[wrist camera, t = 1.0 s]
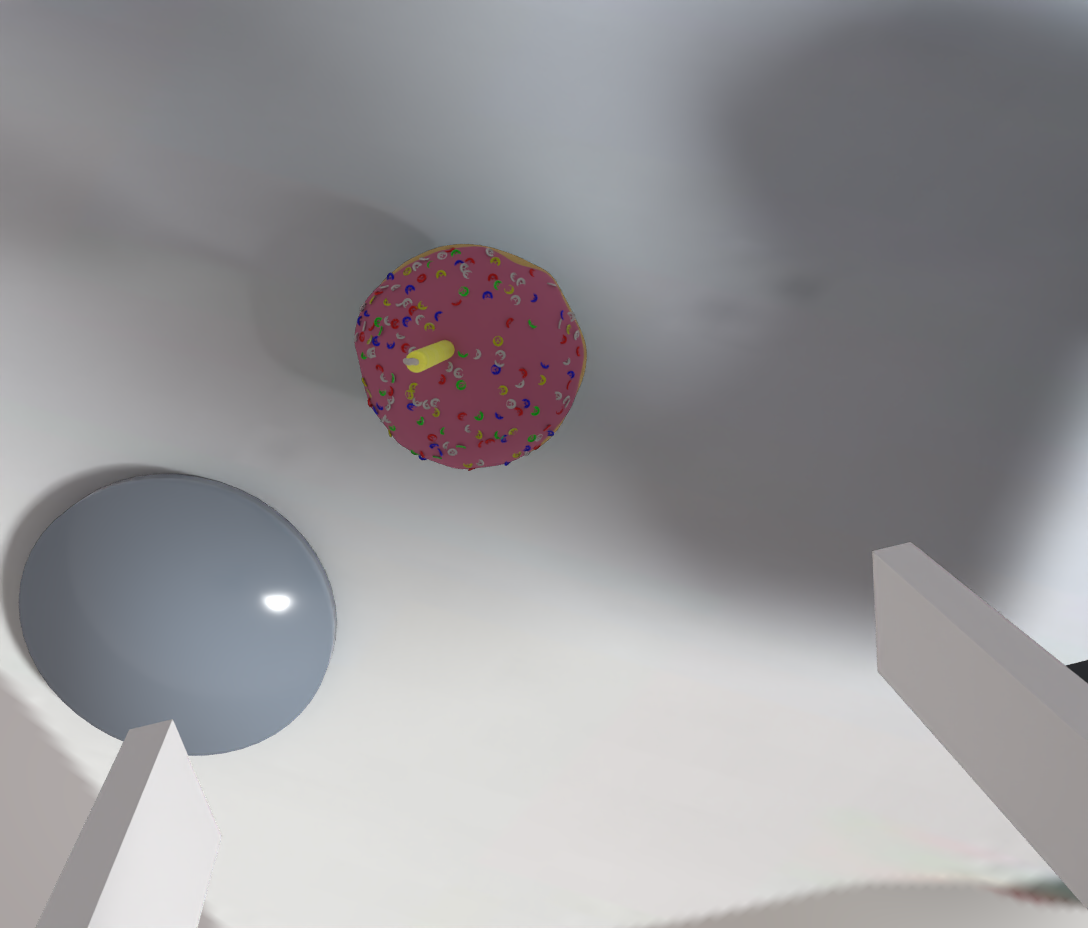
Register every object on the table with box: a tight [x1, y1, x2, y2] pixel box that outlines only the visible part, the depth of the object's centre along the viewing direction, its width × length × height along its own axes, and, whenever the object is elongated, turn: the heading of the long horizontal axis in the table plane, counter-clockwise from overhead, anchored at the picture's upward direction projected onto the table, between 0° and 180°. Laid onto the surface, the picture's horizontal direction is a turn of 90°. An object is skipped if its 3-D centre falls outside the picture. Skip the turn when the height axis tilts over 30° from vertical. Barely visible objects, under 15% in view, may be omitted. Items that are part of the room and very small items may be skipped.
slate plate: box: [19, 474, 337, 756], centre depth 40 cm, size 14×14×1 cm
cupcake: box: [354, 244, 587, 471], centre depth 31 cm, size 9×8×12 cm
